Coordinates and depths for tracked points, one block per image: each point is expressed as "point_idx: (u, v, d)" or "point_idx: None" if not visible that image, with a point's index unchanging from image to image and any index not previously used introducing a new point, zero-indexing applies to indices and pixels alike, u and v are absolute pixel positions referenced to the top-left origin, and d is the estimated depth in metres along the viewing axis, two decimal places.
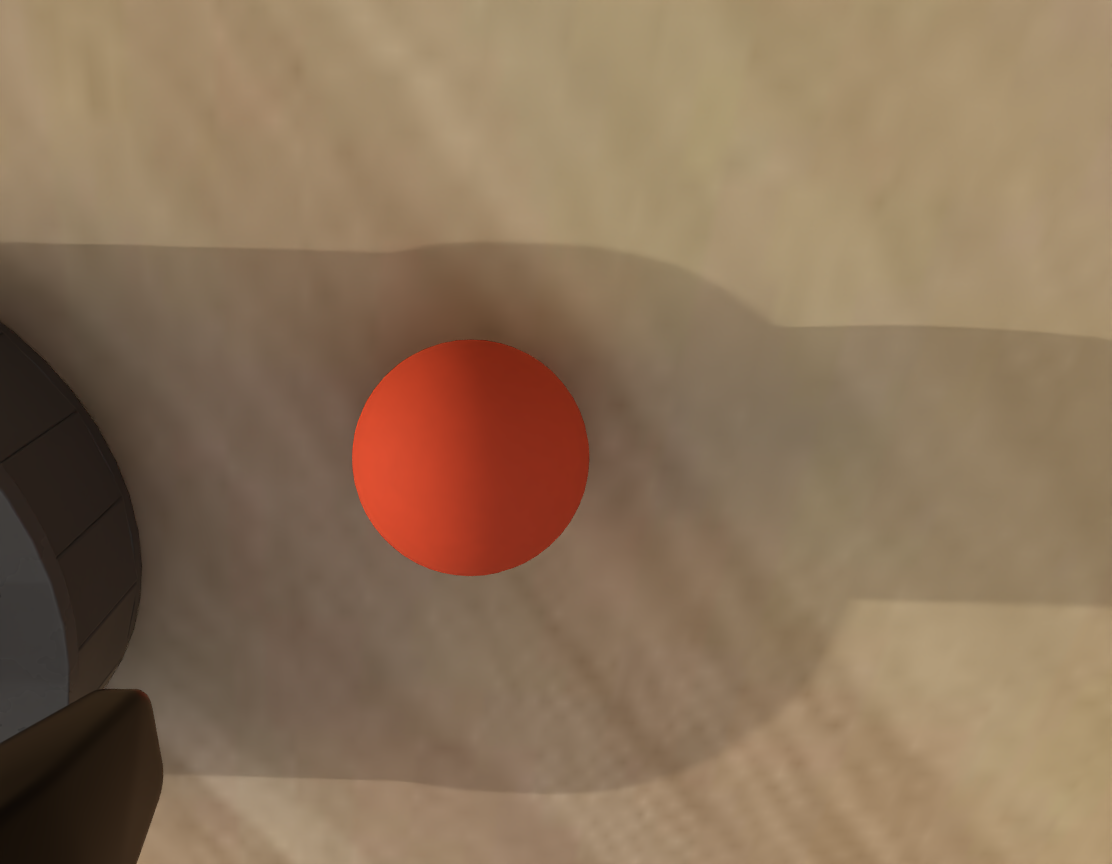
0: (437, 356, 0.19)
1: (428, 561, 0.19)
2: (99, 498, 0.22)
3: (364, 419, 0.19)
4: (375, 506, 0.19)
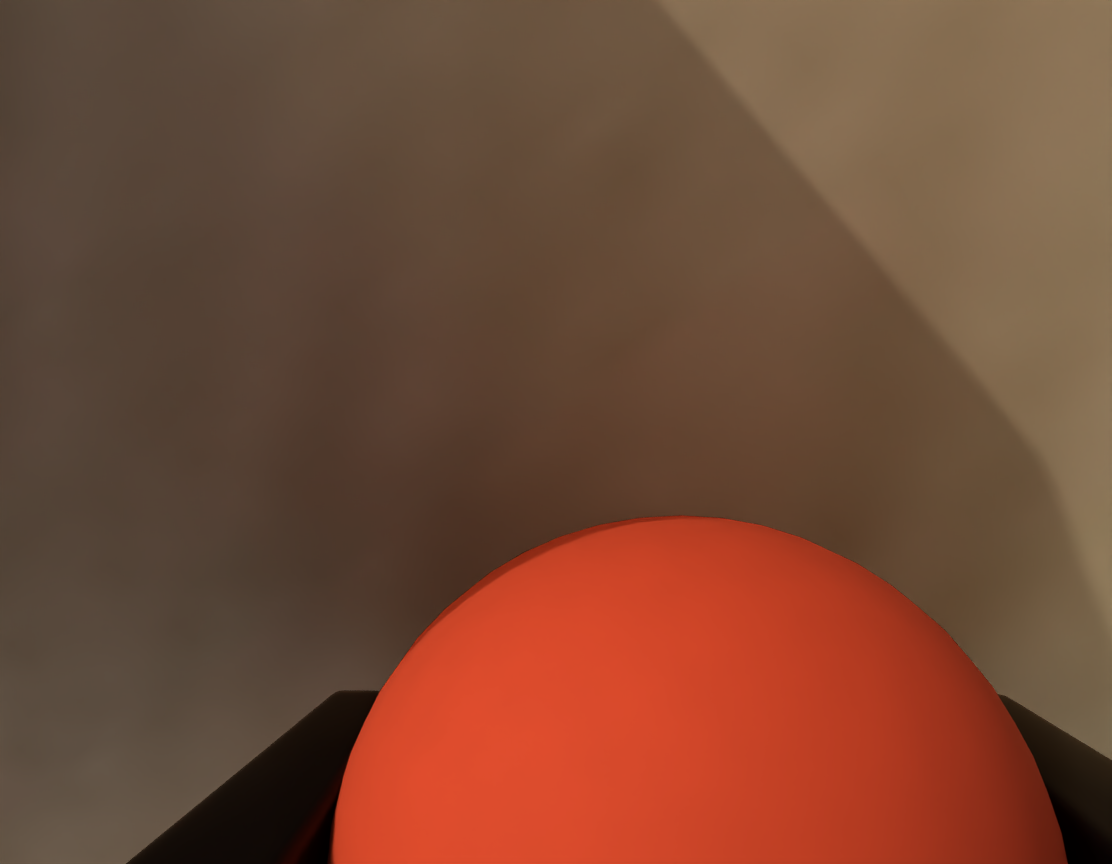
0: (922, 661, 0.06)
1: None
2: None
3: (602, 664, 0.05)
4: None
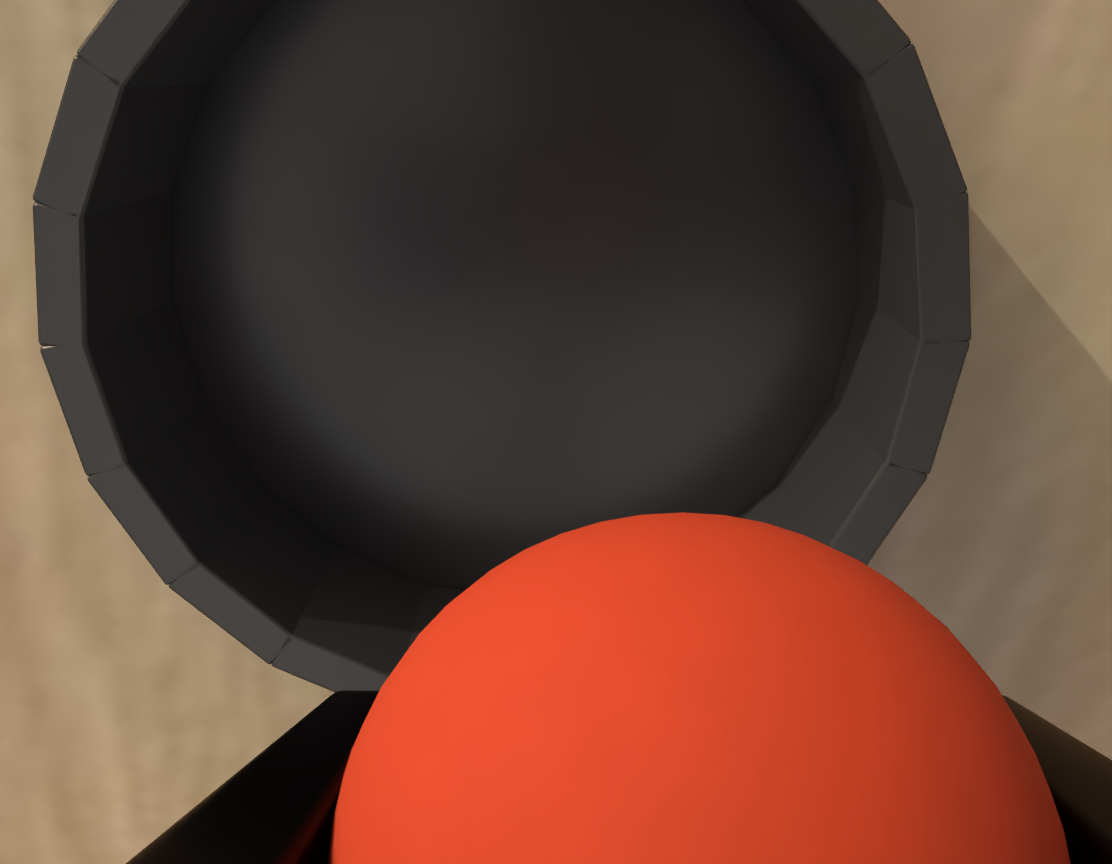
0: (925, 656, 0.06)
1: None
2: None
3: (604, 661, 0.05)
4: None
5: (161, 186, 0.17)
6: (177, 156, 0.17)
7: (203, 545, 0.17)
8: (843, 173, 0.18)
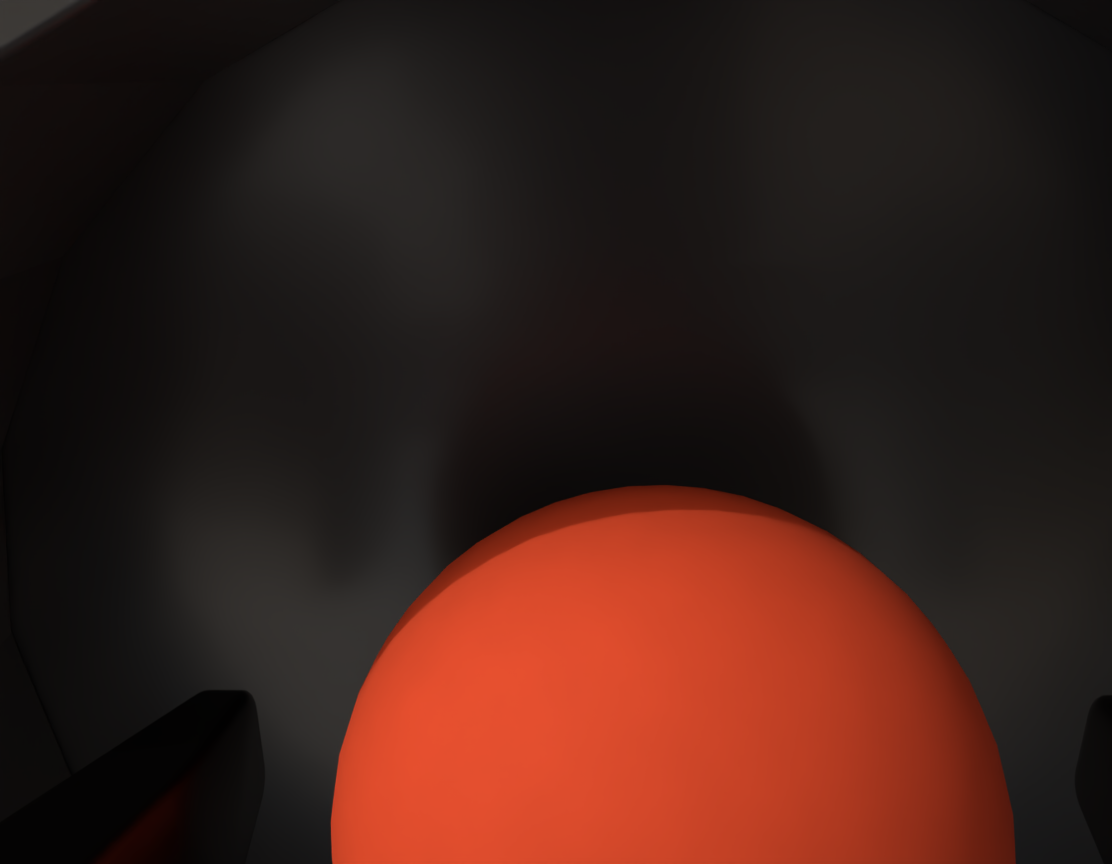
0: (872, 615, 0.06)
1: None
2: None
3: (576, 607, 0.06)
4: None
5: None
6: (3, 396, 0.09)
7: None
8: None
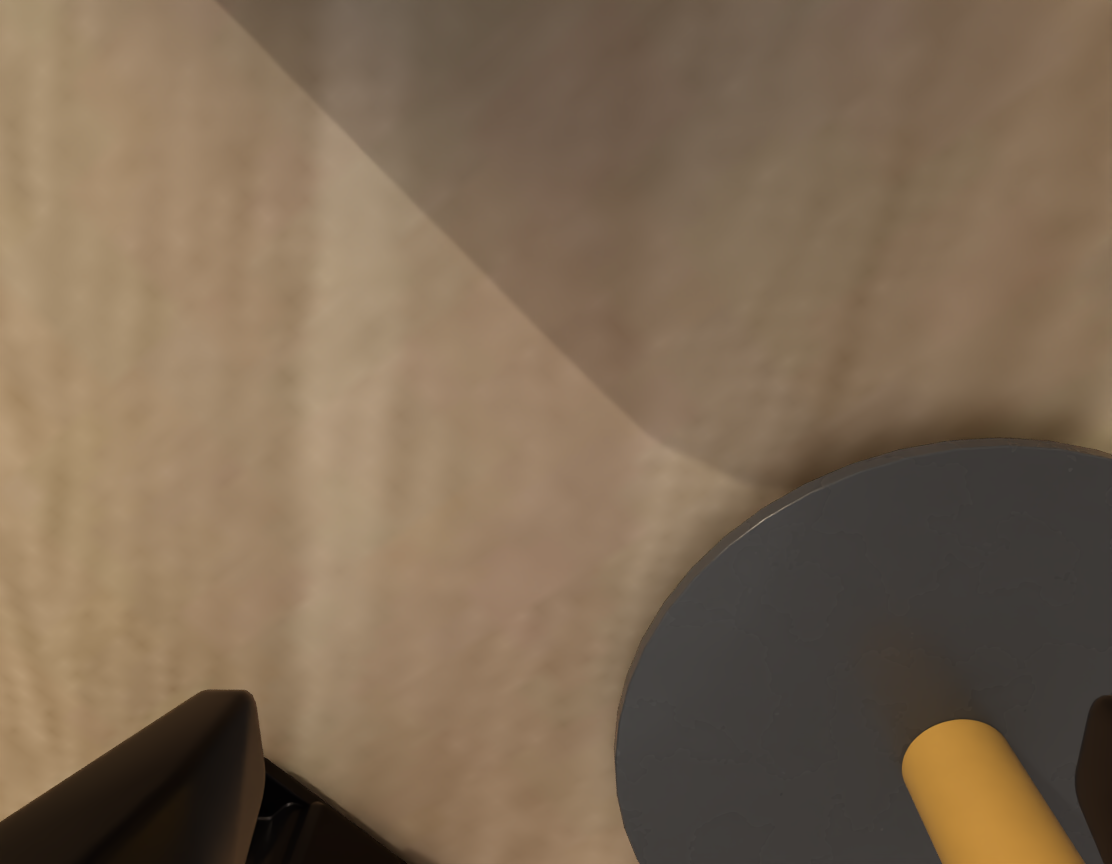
0: None
1: None
2: None
3: None
4: None
5: None
6: None
7: None
8: None
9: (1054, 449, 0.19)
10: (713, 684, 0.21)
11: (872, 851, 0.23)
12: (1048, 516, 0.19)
